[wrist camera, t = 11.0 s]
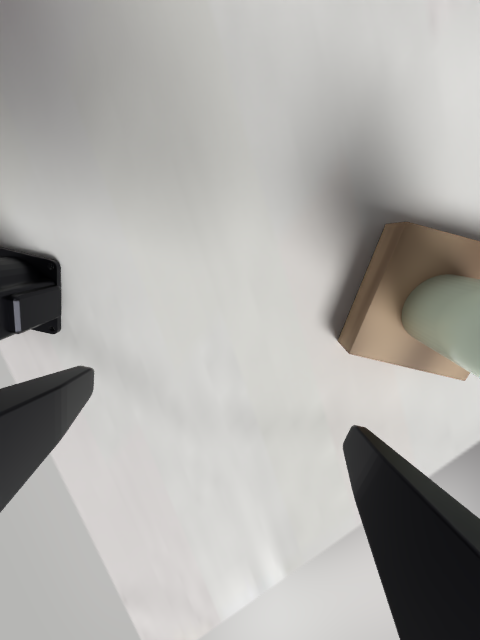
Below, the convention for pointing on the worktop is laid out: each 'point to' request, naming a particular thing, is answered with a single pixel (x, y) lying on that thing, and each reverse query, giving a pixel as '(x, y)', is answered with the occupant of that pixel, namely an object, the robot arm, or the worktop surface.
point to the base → (405, 295)
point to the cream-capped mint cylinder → (447, 318)
